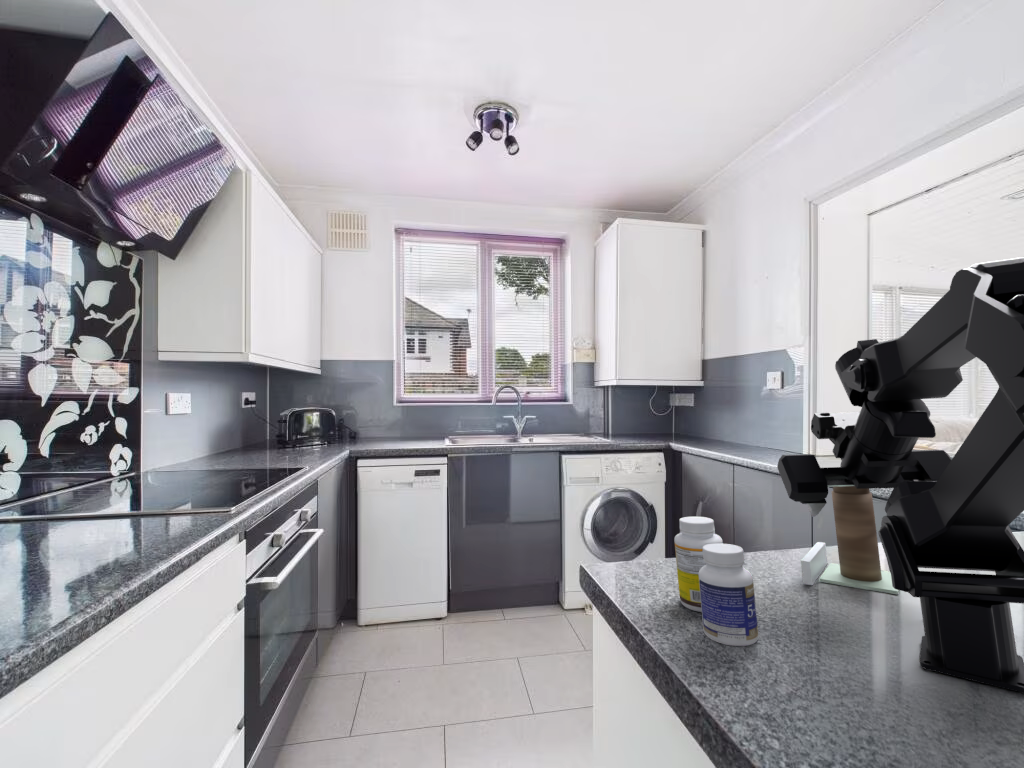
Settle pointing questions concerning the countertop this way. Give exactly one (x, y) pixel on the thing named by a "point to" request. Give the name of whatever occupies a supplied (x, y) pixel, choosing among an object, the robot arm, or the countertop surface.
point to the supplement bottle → (692, 557)
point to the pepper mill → (856, 534)
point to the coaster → (835, 577)
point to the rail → (814, 563)
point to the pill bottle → (727, 596)
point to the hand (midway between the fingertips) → (849, 513)
